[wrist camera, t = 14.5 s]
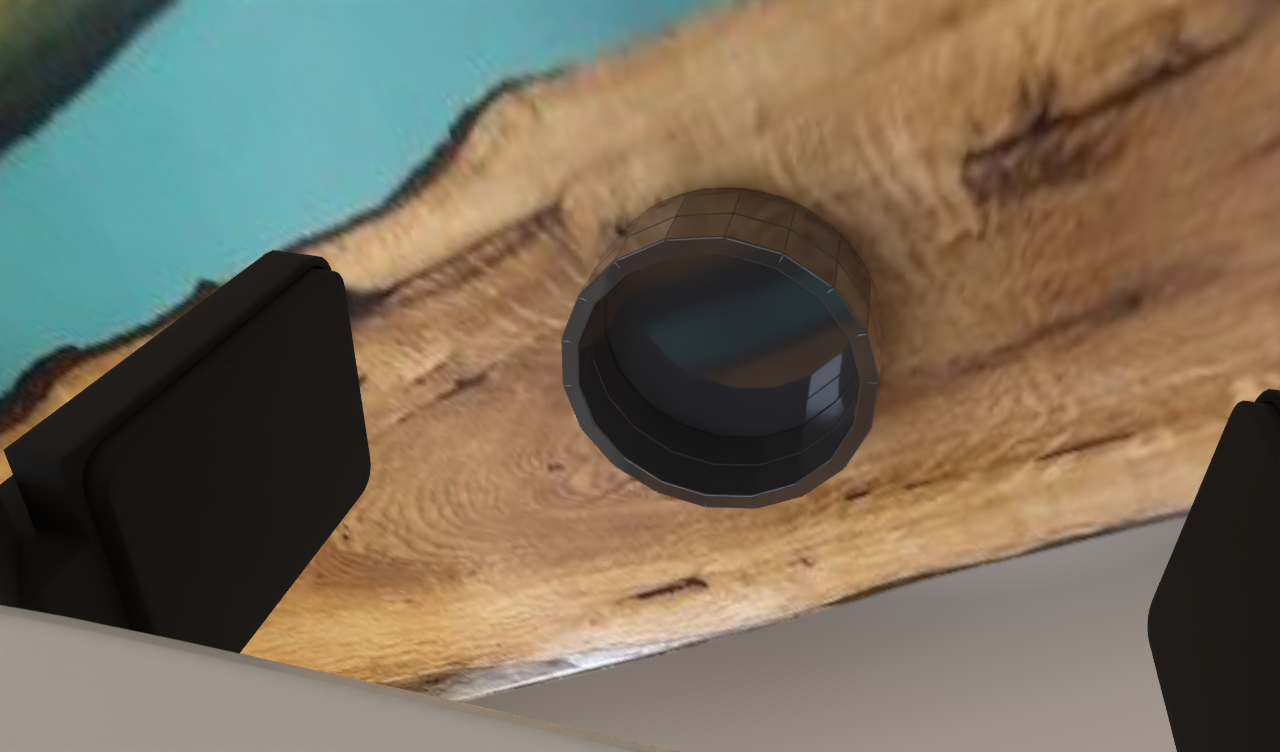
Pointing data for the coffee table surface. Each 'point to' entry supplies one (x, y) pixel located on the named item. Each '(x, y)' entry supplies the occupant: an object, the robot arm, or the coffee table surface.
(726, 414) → the round container
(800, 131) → the coffee table surface
